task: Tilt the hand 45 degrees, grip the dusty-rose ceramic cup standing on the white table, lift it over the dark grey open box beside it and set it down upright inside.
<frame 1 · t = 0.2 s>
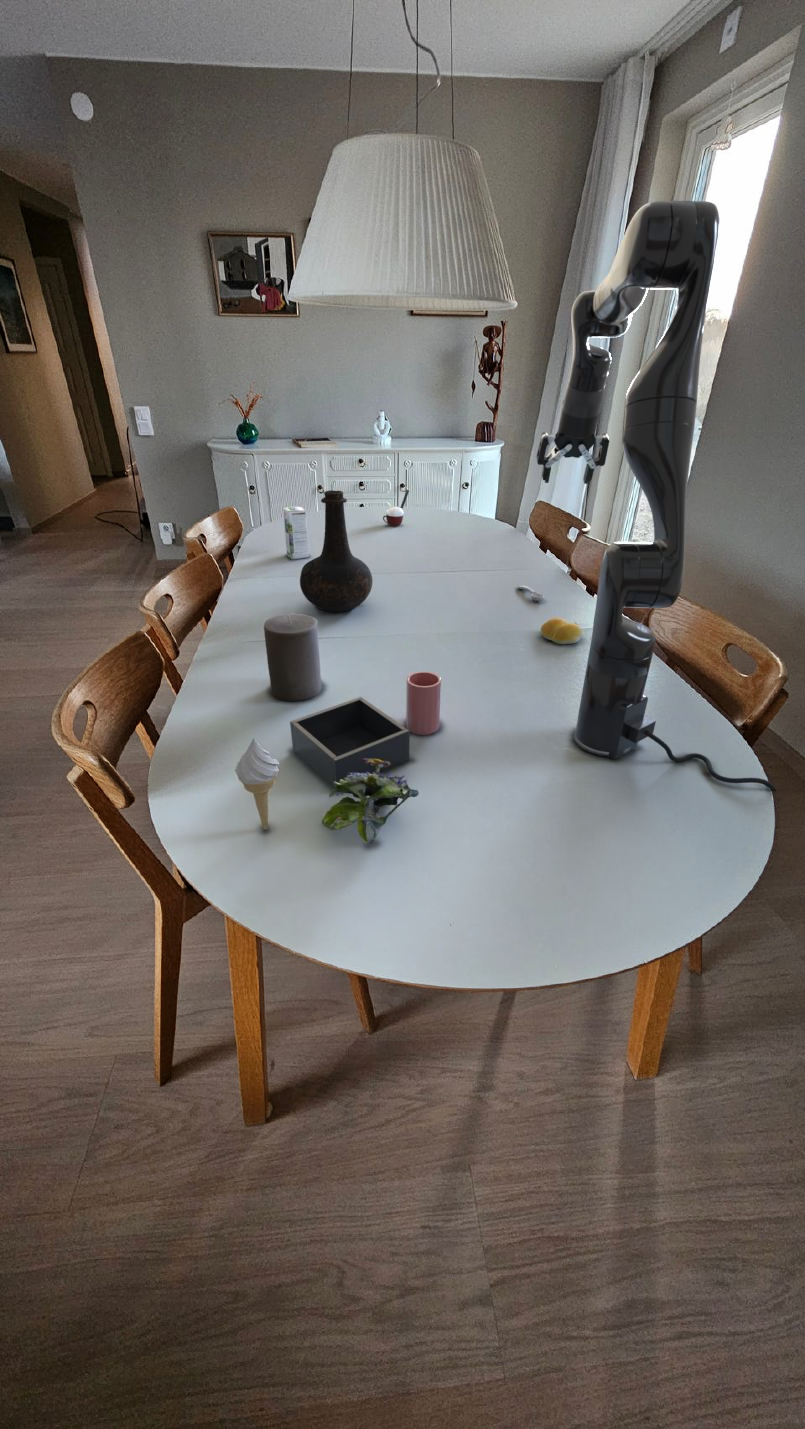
hand: (565, 481, 137), 31 cm above the table, tool tilted 20°, fingers open, 8 cm apart
ice cream cone: (266, 830, 85), on the table
spoon: (530, 596, 165), on the table
dark grey open box: (350, 755, 100), on the table
syrup box: (298, 556, 195), on the table
glass bottle: (337, 606, 158), on the table
passion flower: (371, 826, 86), on the table
cocoa: (395, 525, 229), on the table
pillar candle: (296, 690, 120), on the table
bread roll: (560, 638, 141), on the table
cup: (422, 726, 108), on the table
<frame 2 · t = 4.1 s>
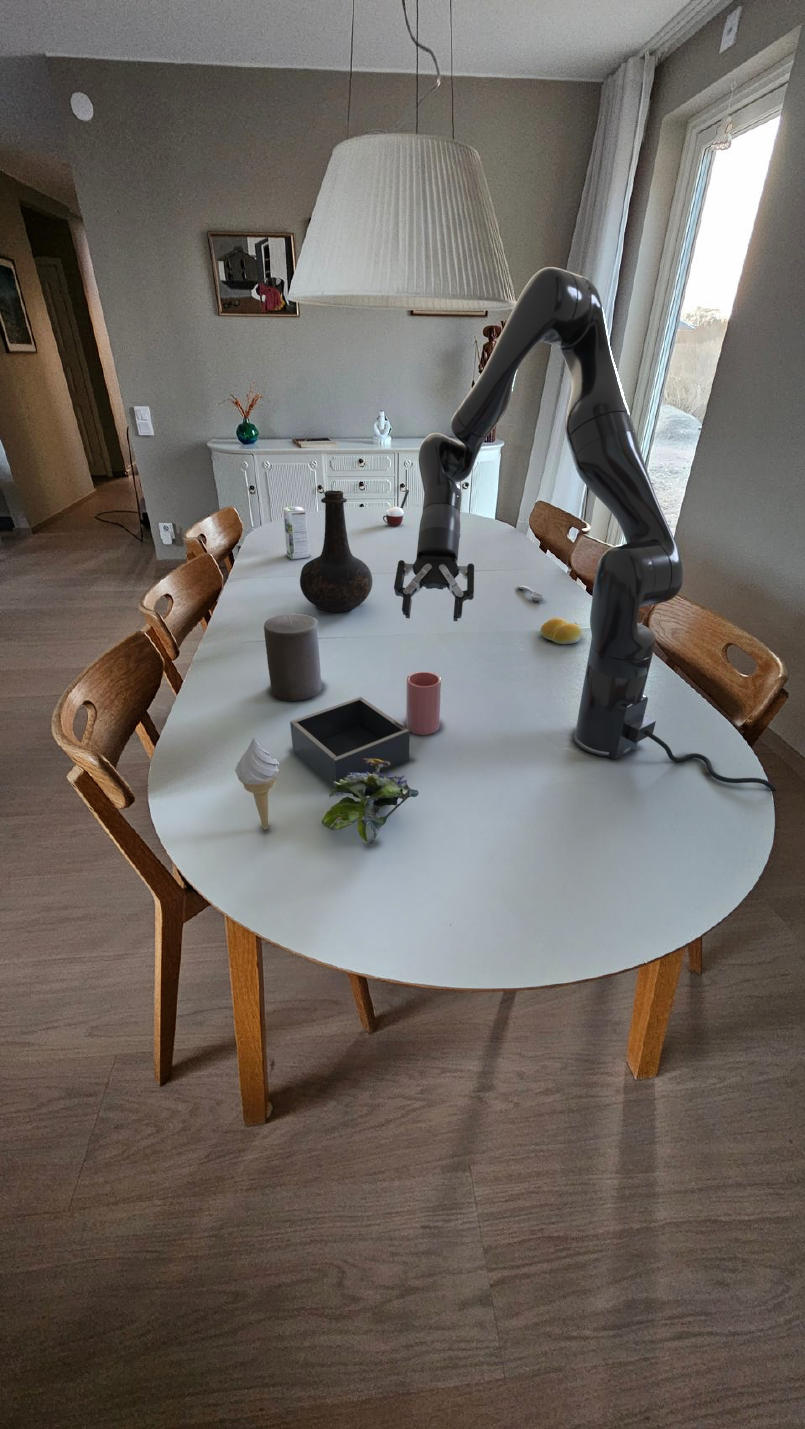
hand: (431, 618, 110), 15 cm above the table, tool tilted 45°, fingers open, 8 cm apart
nothing on the table moved.
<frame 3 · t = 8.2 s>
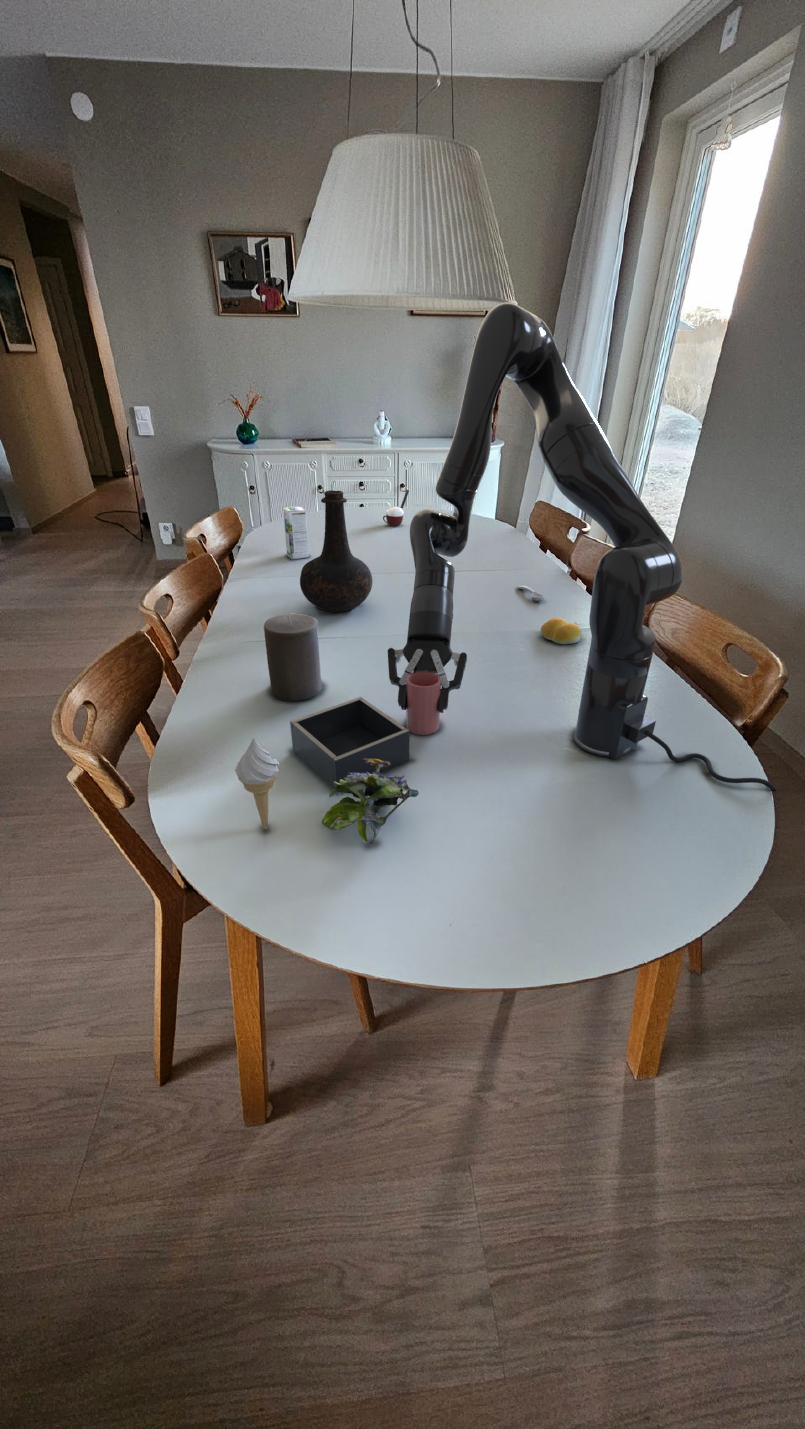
hand: (422, 709, 105), 4 cm above the table, tool tilted 45°, fingers closed on cup, 5 cm apart
cup: (422, 726, 108), on the table, touching gripper
everything else where it was.
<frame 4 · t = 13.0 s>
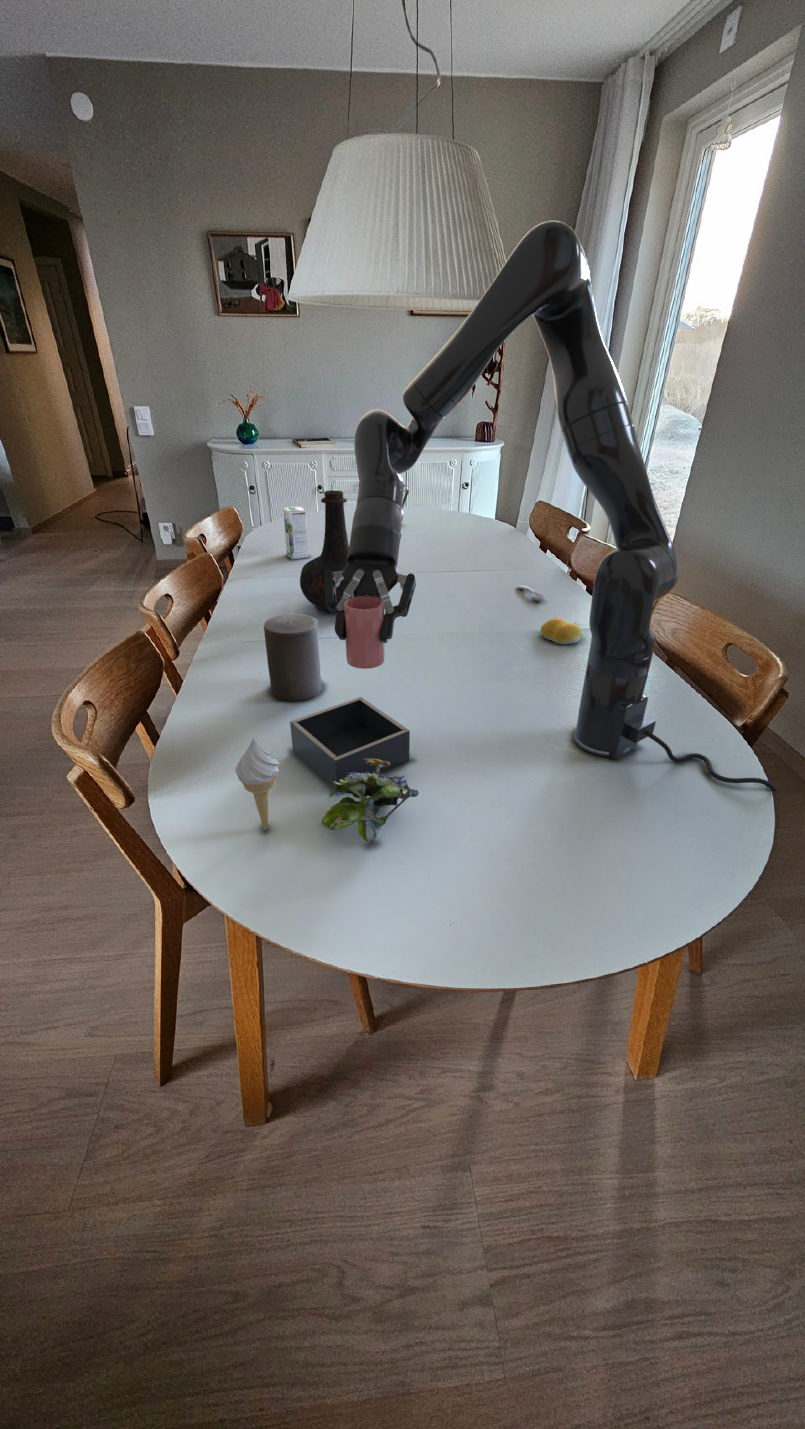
hand: (362, 639, 91), 20 cm above the table, tool tilted 45°, fingers closed on cup, 5 cm apart
cup: (365, 660, 94), point 16 cm above the table, touching gripper
everything else where it was.
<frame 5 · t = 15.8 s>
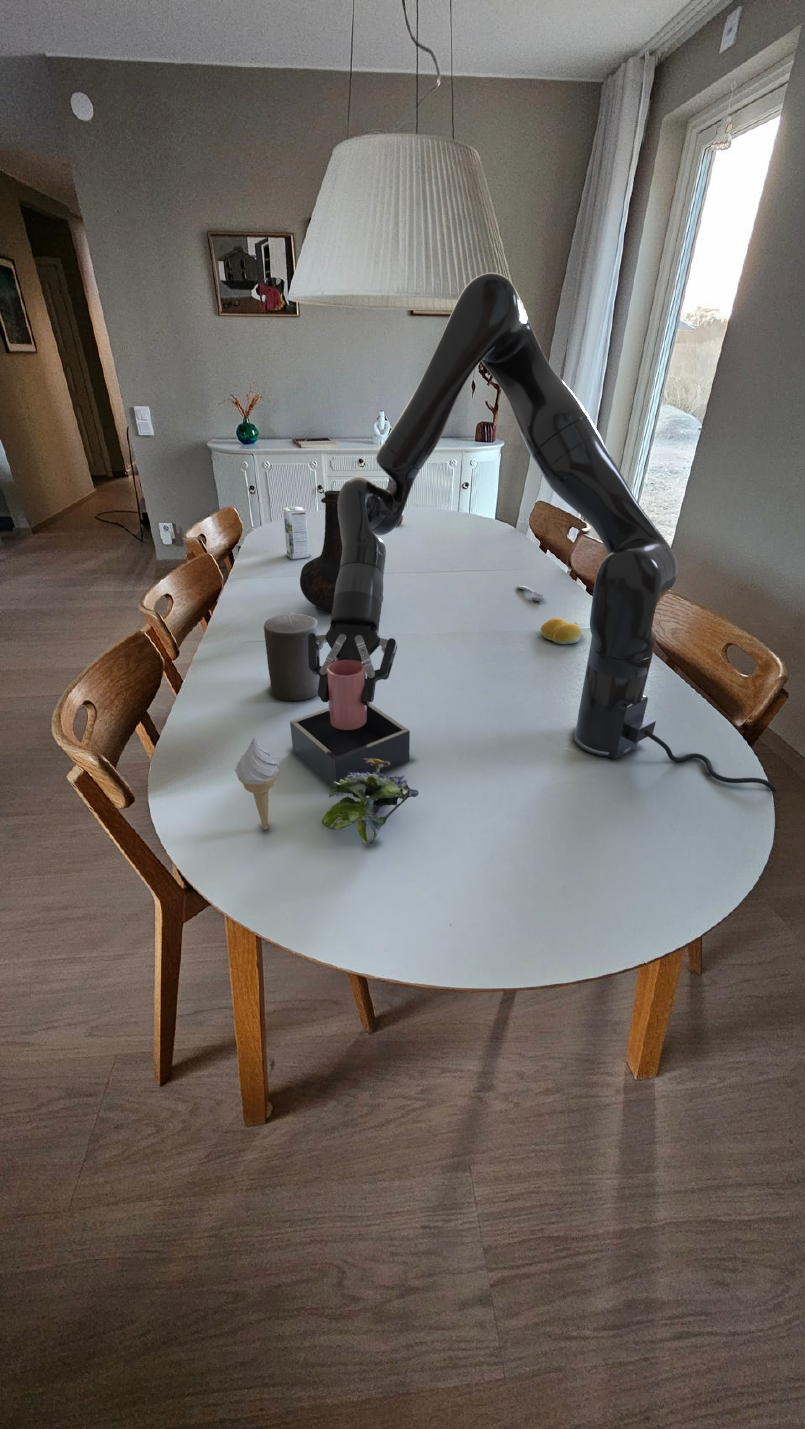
hand: (345, 702, 93), 11 cm above the table, tool tilted 45°, fingers closed on cup, 5 cm apart
cup: (348, 720, 97), point 7 cm above the table, touching gripper
everything else where it was.
when the fingers open (5 cm above the table, at t = 18.0 s): cup stays where it is, resting on dark grey open box.
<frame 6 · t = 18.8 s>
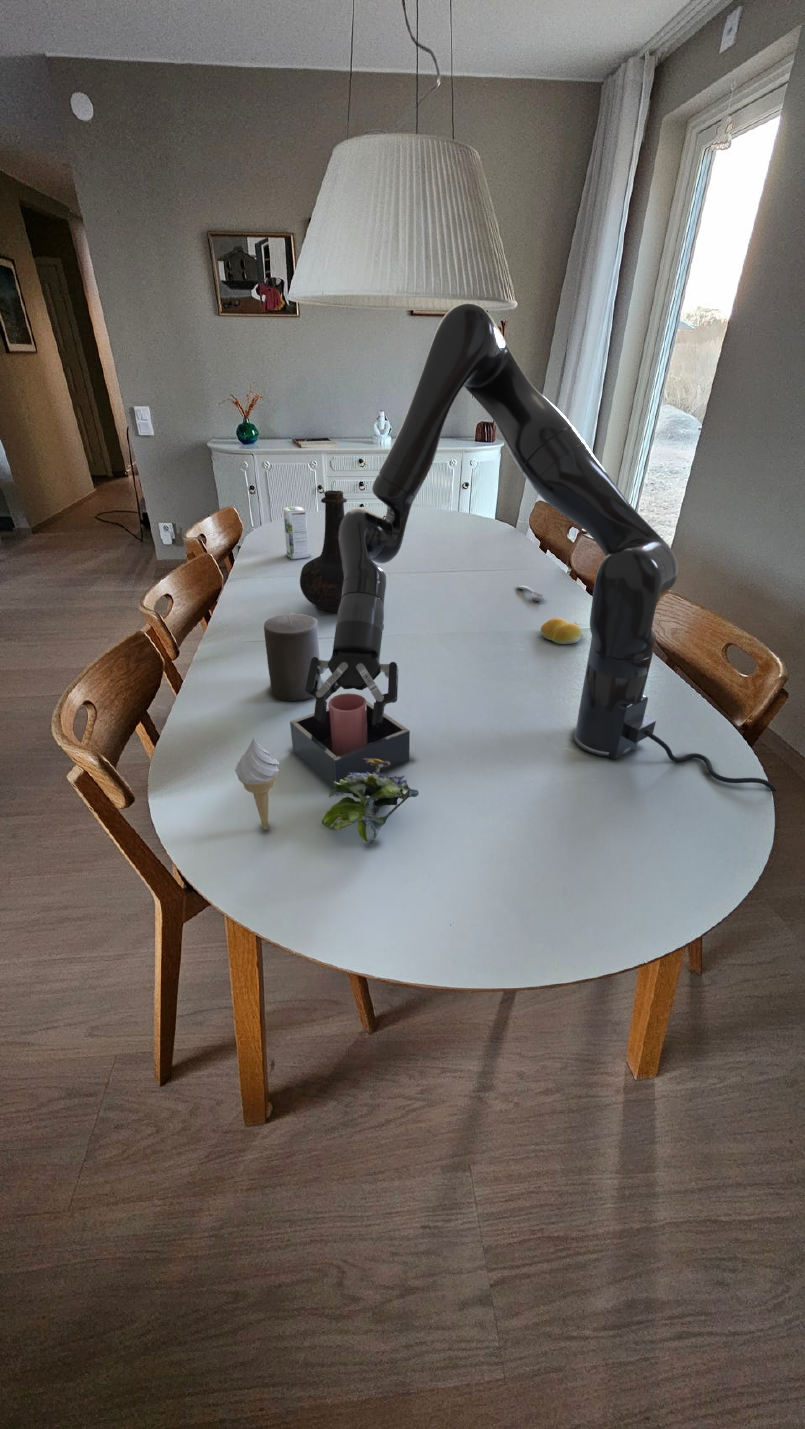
hand: (347, 725, 96), 6 cm above the table, tool tilted 45°, fingers open, 8 cm apart
cup: (349, 751, 100), point 1 cm above the table, touching dark grey open box
everything else where it was.
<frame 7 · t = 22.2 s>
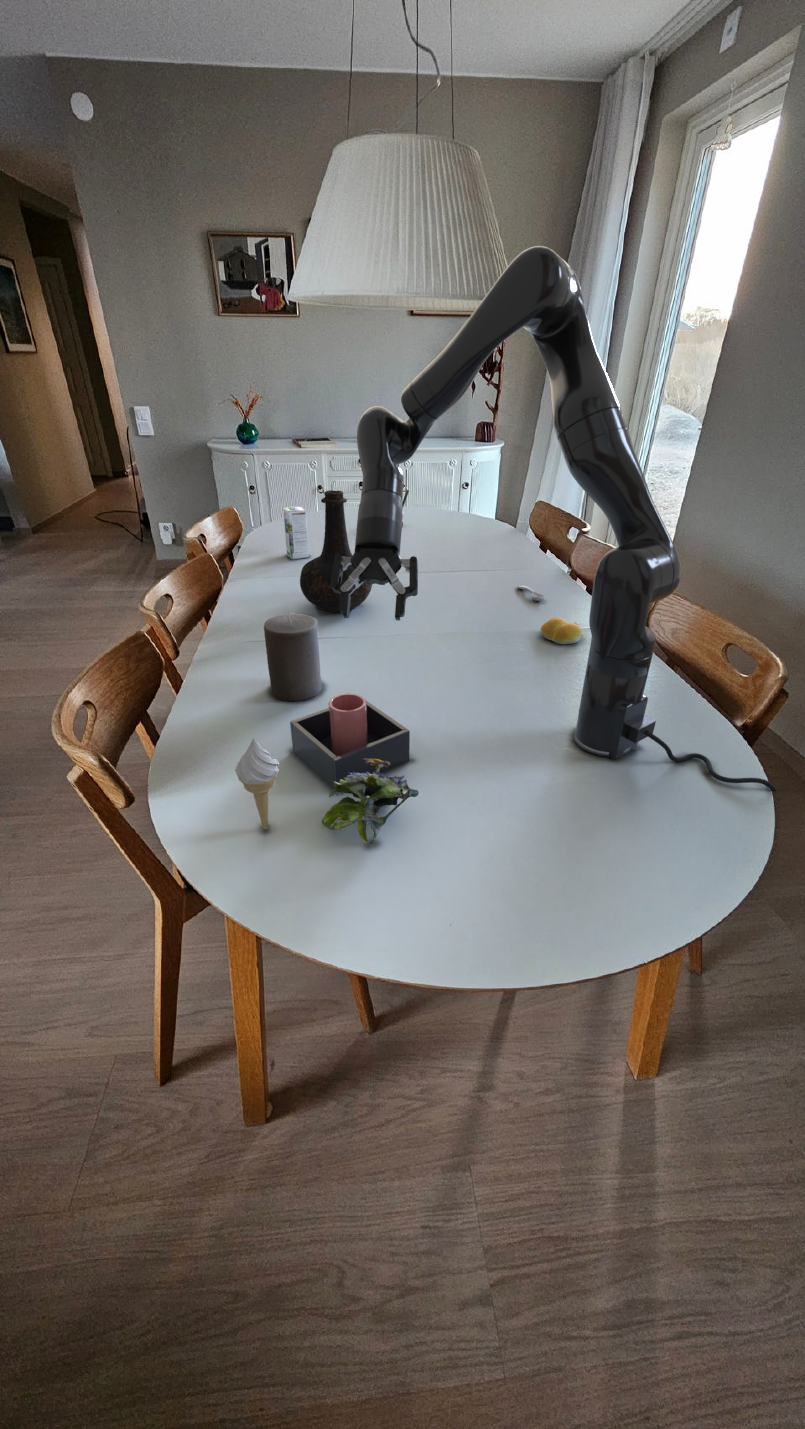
hand: (371, 617, 101), 19 cm above the table, tool tilted 40°, fingers open, 8 cm apart
nothing on the table moved.
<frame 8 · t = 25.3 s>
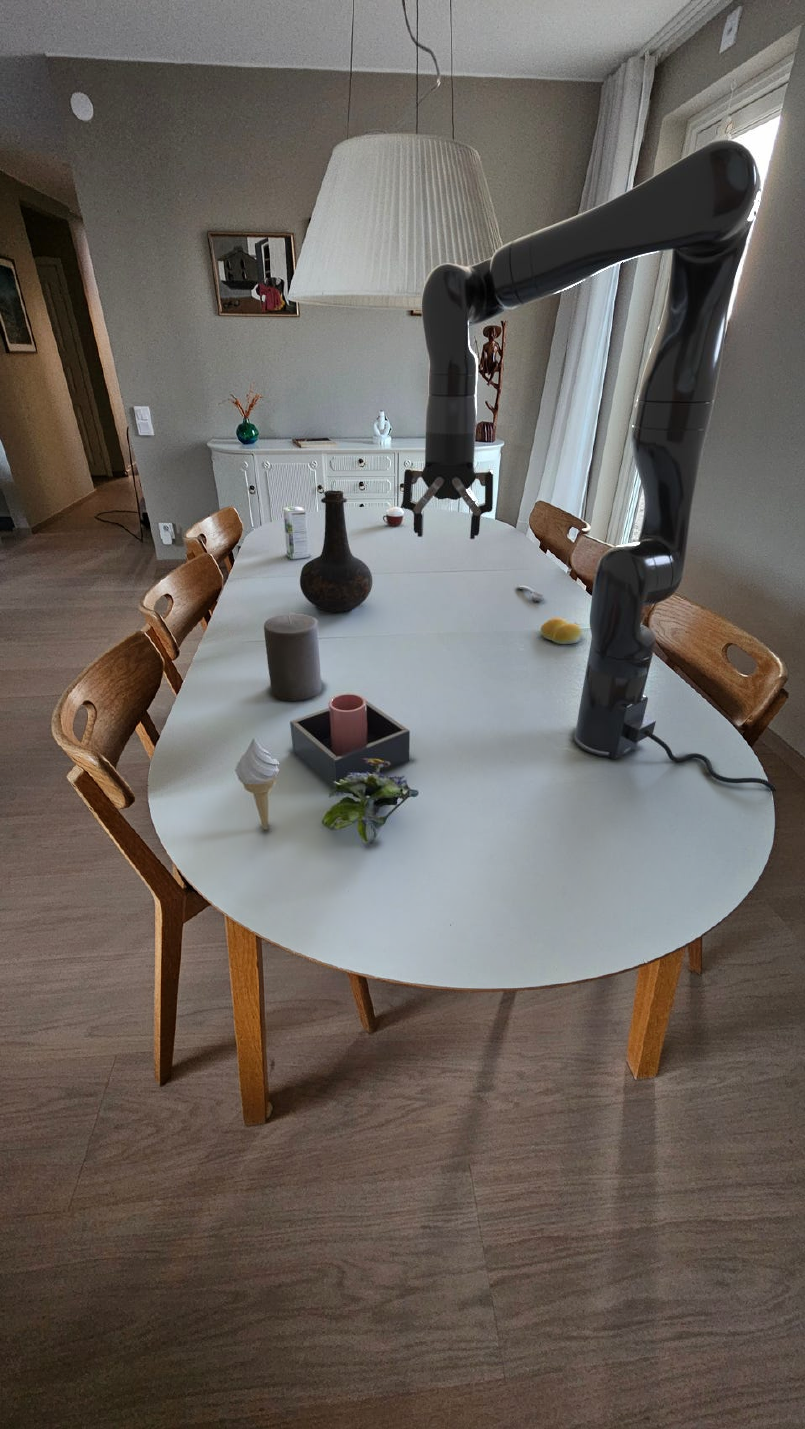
hand: (446, 536, 102), 30 cm above the table, tool pointing down, fingers open, 8 cm apart
nothing on the table moved.
at the end: cup inside the target area in the dark grey open box (0.2 cm from its centre), point 0.6 cm above the dark grey open box's base; cup tilted 0°; the gripper is holding nothing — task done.
